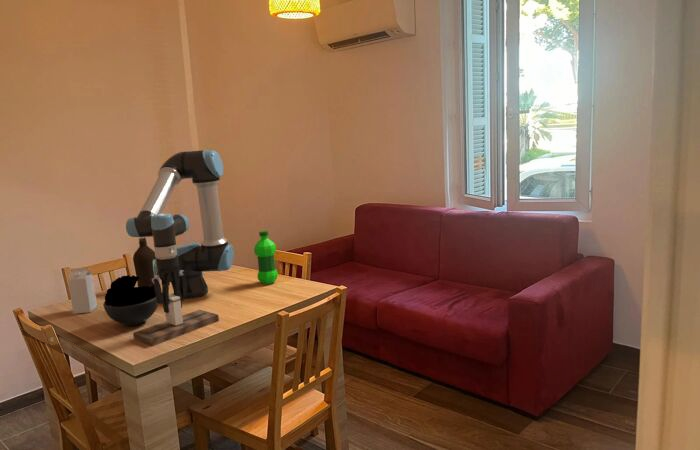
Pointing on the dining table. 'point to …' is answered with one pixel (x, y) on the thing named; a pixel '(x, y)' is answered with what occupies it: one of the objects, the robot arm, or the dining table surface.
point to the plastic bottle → (266, 259)
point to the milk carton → (82, 290)
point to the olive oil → (145, 264)
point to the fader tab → (175, 310)
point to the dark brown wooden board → (175, 328)
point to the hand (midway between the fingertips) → (174, 318)
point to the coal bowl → (129, 301)
